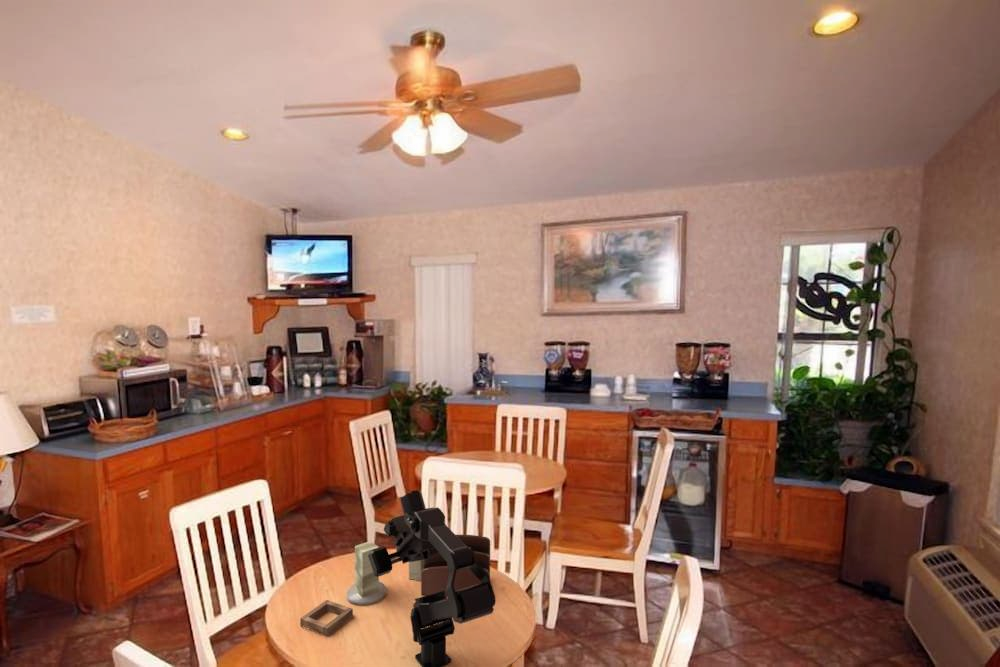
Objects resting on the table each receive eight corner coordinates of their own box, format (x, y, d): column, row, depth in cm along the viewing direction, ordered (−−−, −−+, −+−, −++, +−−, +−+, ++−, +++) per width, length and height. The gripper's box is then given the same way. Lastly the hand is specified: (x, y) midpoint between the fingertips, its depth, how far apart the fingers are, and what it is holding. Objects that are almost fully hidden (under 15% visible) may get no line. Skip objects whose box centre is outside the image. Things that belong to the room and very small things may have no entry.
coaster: (392, 596, 140) (392, 593, 140) (354, 610, 133) (354, 606, 133) (377, 579, 149) (377, 576, 149) (341, 591, 142) (341, 588, 142)
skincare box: (421, 581, 148) (421, 541, 148) (407, 579, 149) (408, 540, 149) (428, 570, 155) (428, 532, 154) (415, 568, 155) (415, 531, 155)
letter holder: (425, 578, 151) (426, 533, 150) (490, 578, 151) (490, 533, 150) (420, 596, 141) (420, 548, 140) (489, 597, 141) (490, 549, 140)
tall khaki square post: (378, 591, 141) (378, 547, 140) (362, 597, 138) (362, 552, 137) (370, 584, 145) (370, 541, 144) (354, 590, 141) (354, 546, 141)
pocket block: (352, 616, 131) (352, 608, 131) (327, 636, 123) (327, 628, 122) (326, 606, 135) (326, 599, 135) (300, 625, 126) (300, 618, 126)
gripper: (434, 501, 133) (413, 528, 142) (371, 519, 121) (352, 547, 129) (451, 540, 127) (428, 565, 136) (386, 563, 115) (365, 589, 124)
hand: (394, 565), depth 131 cm, fingers open, 9 cm apart
